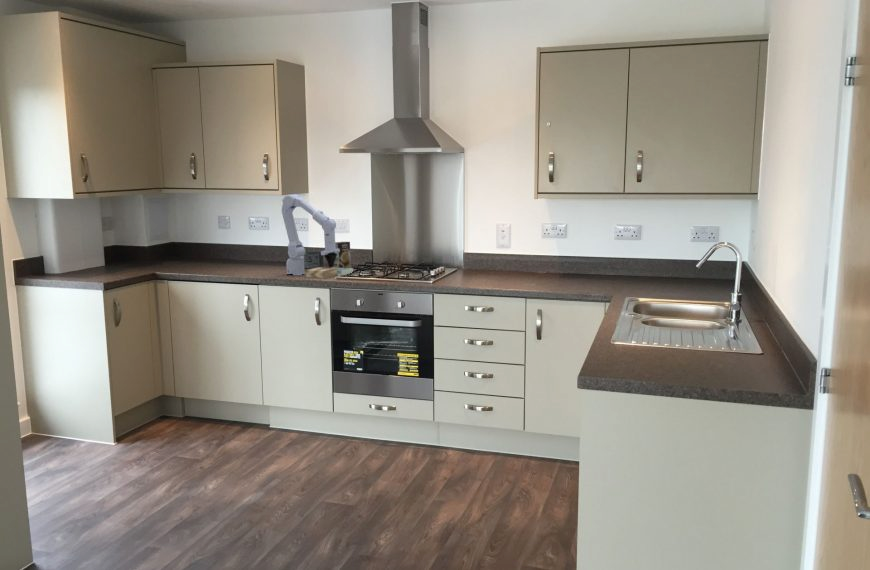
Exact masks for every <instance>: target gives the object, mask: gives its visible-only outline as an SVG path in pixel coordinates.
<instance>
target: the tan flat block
mask: <svg viewBox="0 0 870 570" xmlns="http://www.w3.org/2000/svg"><path fill="white" fill-rule="evenodd" d="M305 273H306V274H305V278H308V277H311V279H312V278H313V279H329V278H334V277H338V270H337V268H333V267H324V268H321V267H318V268H313V269H305Z"/></svg>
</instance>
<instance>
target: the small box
mask: <svg viewBox="0 0 870 570" xmlns="http://www.w3.org/2000/svg"><path fill="white" fill-rule="evenodd" d="M305 251H306V252H305V255H304V270H308V269H313V268H318V267H321V268H325V266H324V255H321V251H322V250H305Z"/></svg>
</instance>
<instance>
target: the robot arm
mask: <svg viewBox="0 0 870 570" xmlns="http://www.w3.org/2000/svg"><path fill="white" fill-rule="evenodd" d="M281 201H282V206H281V214H282V219H283V222H284V225H285V226H284V227H285V230H286V234H287V237H288V245H287V255H288V259H287V260H286V263H285V264H286V274H293V275H292V276H303V275H302V274H304V275H306V271H305V269H304V255H305V252H306V251H307V250H306V248H305V247H304V245H303V242H301V240H300V239H299V238H300V237H299V235H298V230H297V227H296V222H295V219H294V215H293V212H294V210H295V209H296V208H297V207H298V208H301V209H303V210H305V212H307V214H308V213H309V214H310V215H311V216H312V219H313V220H314V221H315V222H316V223H317V224H318V225H320V226H321V229H322V231H323V235H324V236H323V237H324V250H320V251H321V255H323V257H324V258H325V260H326V262H327V265H328V268H333V266H334V261H335V258H336V256H337V254H336V253H337V252H340V249H336V247H335V242H336V232H335V231H336V230H335V229H336V227H337V223H336V221H335V220H334V219H330V217H329V216H327V215H325V214H324V211H321V210H316V209H315V208H314V207H313V206H312V205H311V204H310V203H308V202H307V200H305V198H304V197H302V196H301V195H299V194H298V193H294V194H287V195H285V196H284V197H283V198H282V199H281Z"/></svg>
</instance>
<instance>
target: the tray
mask: <svg viewBox="0 0 870 570" xmlns="http://www.w3.org/2000/svg"><path fill="white" fill-rule="evenodd" d="M337 269H343V270H344V271H341V274H338V276H339V277H340V276H341V277H343V276H347V274H348V275H351V274H350V273H352V272H353V271H354V272H355V268H352V267H351V268H337ZM352 274H353V273H352ZM338 276H337V277H338Z"/></svg>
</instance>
